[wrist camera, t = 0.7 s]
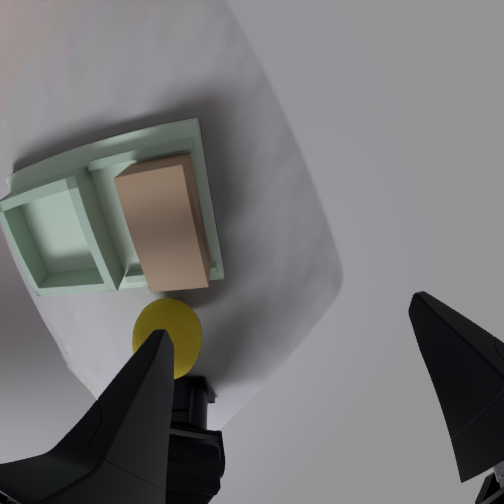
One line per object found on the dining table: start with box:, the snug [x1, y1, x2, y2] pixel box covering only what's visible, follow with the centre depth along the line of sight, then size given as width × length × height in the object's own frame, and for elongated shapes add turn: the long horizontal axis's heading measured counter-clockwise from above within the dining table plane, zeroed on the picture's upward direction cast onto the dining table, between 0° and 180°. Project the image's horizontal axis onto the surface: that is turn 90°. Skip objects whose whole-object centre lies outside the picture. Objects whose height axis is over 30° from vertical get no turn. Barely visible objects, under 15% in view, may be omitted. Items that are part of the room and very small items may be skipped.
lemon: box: [132, 298, 202, 379], centre depth 21 cm, size 6×6×8 cm
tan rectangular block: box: [114, 152, 211, 292], centre depth 17 cm, size 8×4×3 cm, turn 6°
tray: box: [0, 117, 224, 296], centre depth 18 cm, size 12×17×3 cm
